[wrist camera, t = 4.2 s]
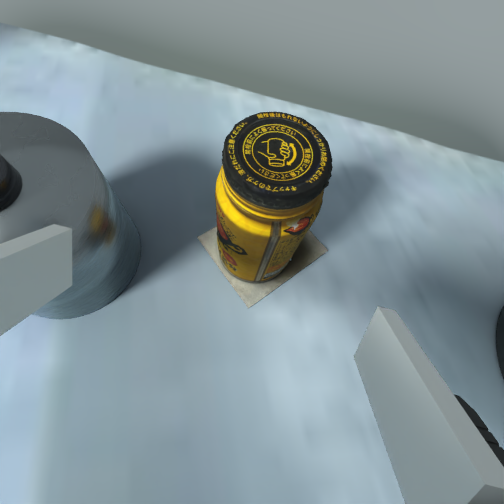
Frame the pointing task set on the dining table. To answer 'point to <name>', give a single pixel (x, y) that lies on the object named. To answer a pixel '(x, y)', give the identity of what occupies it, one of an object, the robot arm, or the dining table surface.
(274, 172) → the condiment
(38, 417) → the dining table surface
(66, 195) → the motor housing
